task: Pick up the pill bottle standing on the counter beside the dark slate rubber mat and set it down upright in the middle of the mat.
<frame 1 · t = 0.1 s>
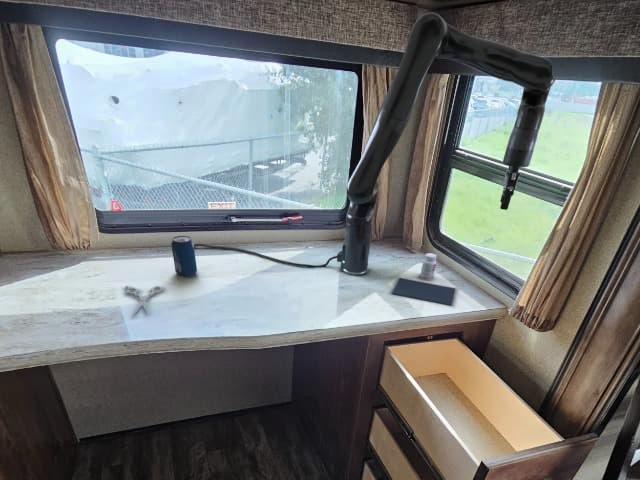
hand: (503, 205, 132), 29 cm above the table, tool pointing down, fingers open, 8 cm apart
pill bottle: (426, 277, 158), on the table
mat: (424, 291, 148), on the table
scissors: (142, 301, 128), on the table
soda can: (186, 274, 146), on the table
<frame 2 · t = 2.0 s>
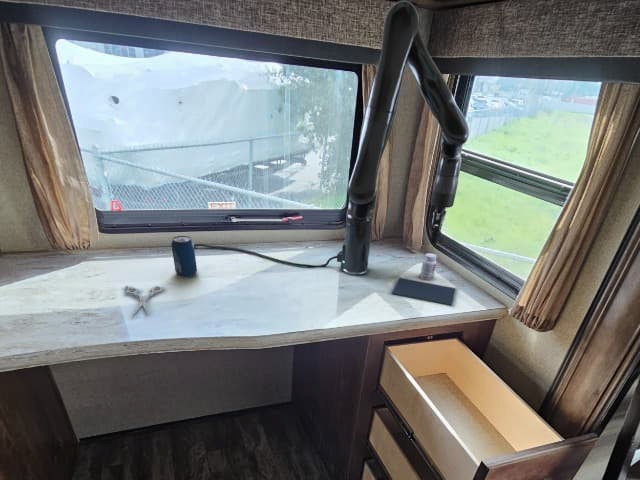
hand: (434, 239, 150), 14 cm above the table, tool pointing down, fingers open, 8 cm apart
nothing on the table moved.
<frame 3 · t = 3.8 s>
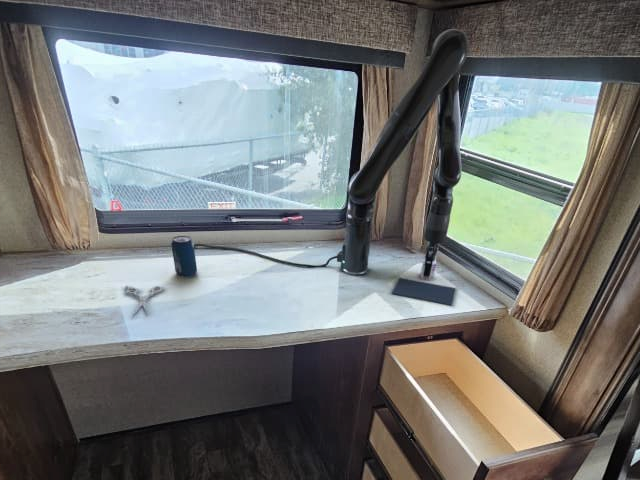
hand: (427, 273, 157), 2 cm above the table, tool pointing down, fingers closed on pill bottle, 5 cm apart
pill bottle: (426, 277, 158), on the table, touching gripper
everything else where it was.
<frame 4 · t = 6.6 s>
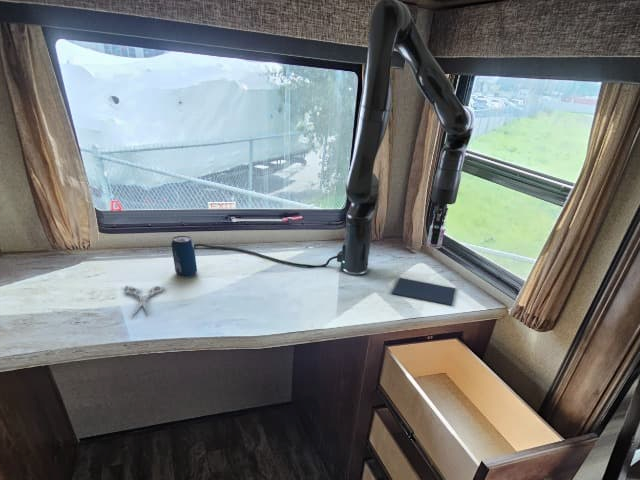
hand: (434, 241, 139), 17 cm above the table, tool pointing down, fingers closed on pill bottle, 4 cm apart
pill bottle: (433, 246, 140), point 15 cm above the table, touching gripper
everything else where it was.
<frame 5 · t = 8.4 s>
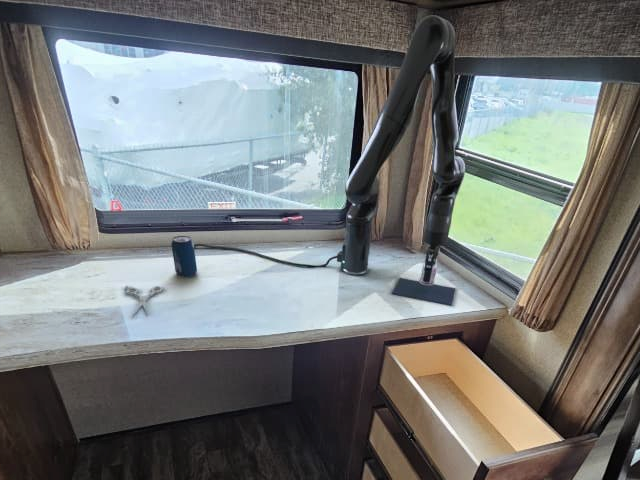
hand: (427, 278, 145), 5 cm above the table, tool pointing down, fingers closed on pill bottle, 4 cm apart
pill bottle: (426, 283, 146), point 3 cm above the table, touching gripper
everything else where it was.
when the fingers open (2 cm above the table, at t = 9.7 s): pill bottle stays where it is, resting on mat.
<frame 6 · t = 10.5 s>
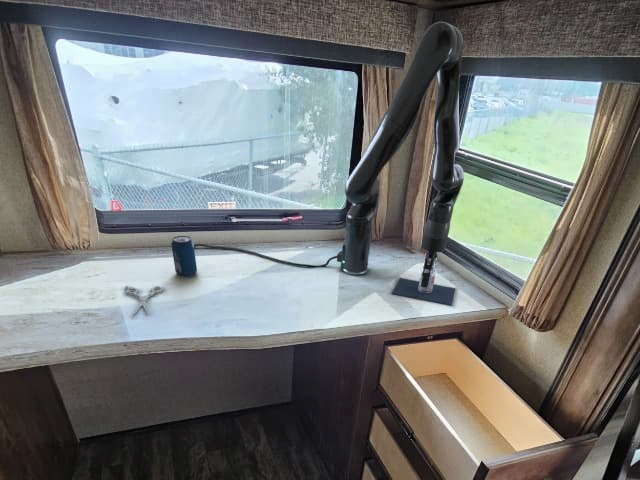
hand: (425, 281, 146), 4 cm above the table, tool pointing down, fingers open, 8 cm apart
pill bottle: (424, 291, 148), resting on mat
everything else where it was.
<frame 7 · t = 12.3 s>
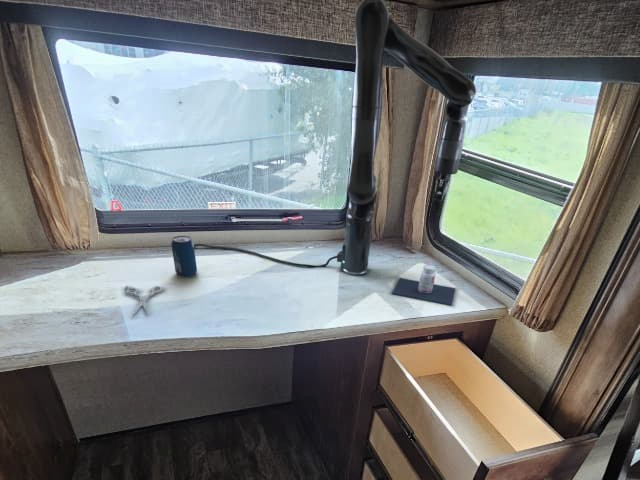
hand: (437, 209, 145), 24 cm above the table, tool pointing down, fingers open, 8 cm apart
nothing on the table moved.
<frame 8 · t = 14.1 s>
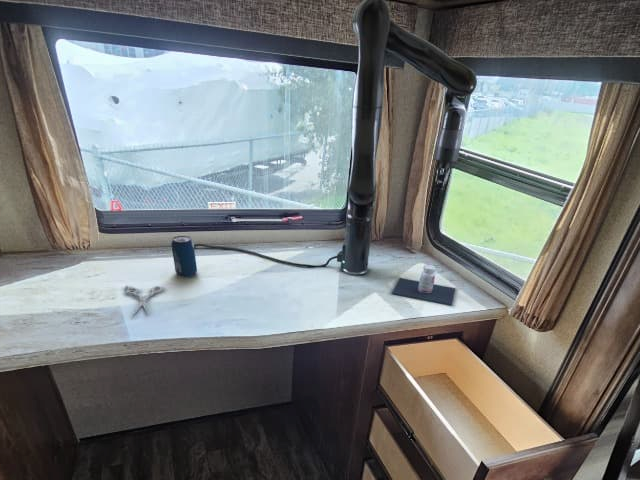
hand: (437, 198, 148), 26 cm above the table, tool pointing down, fingers open, 8 cm apart
nothing on the table moved.
at the end: pill bottle inside the target area on the mat (0.1 cm from its centre), point 0.2 cm above the mat's base; pill bottle tilted 0°; the gripper is holding nothing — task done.
